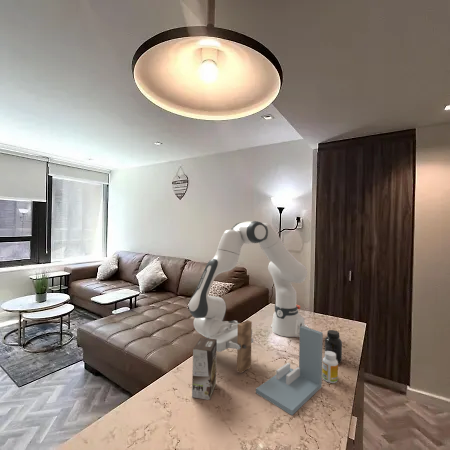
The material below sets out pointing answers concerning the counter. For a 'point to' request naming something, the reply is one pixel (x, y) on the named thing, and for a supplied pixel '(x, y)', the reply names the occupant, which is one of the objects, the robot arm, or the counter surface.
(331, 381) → the supplement bottle
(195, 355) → the coffee box
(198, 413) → the counter surface
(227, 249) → the robot arm
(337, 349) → the supplement bottle
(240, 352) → the door panel
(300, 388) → the blue-grey l-shaped stand
